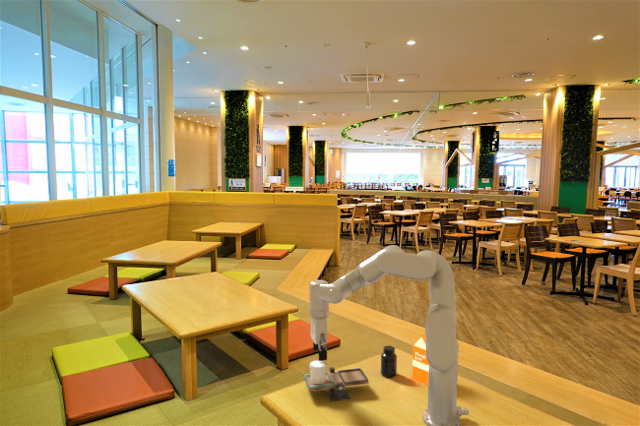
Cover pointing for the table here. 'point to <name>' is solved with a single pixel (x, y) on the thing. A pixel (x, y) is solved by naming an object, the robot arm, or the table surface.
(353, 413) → the table surface
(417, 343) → the orange juice
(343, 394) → the pivot stand
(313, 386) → the balance beam board
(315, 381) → the cup of milk
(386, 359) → the supplement bottle
